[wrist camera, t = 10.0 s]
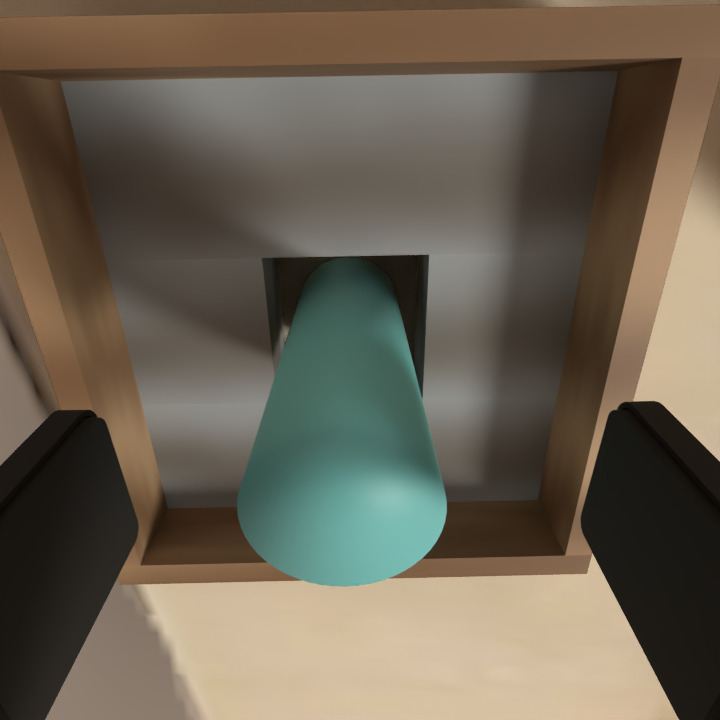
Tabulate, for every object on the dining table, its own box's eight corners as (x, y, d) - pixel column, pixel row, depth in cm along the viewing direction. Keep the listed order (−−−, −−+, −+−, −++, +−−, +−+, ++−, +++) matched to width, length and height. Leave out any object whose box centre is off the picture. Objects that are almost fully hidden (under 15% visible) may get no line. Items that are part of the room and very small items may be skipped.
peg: (297, 257, 19) (223, 429, 8) (397, 255, 19) (454, 424, 8) (303, 349, 21) (250, 588, 10) (395, 347, 21) (441, 584, 10)
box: (71, 55, 16) (-72, 18, 11) (609, 44, 16) (739, 4, 11) (172, 481, 24) (120, 584, 18) (534, 473, 24) (586, 573, 19)
